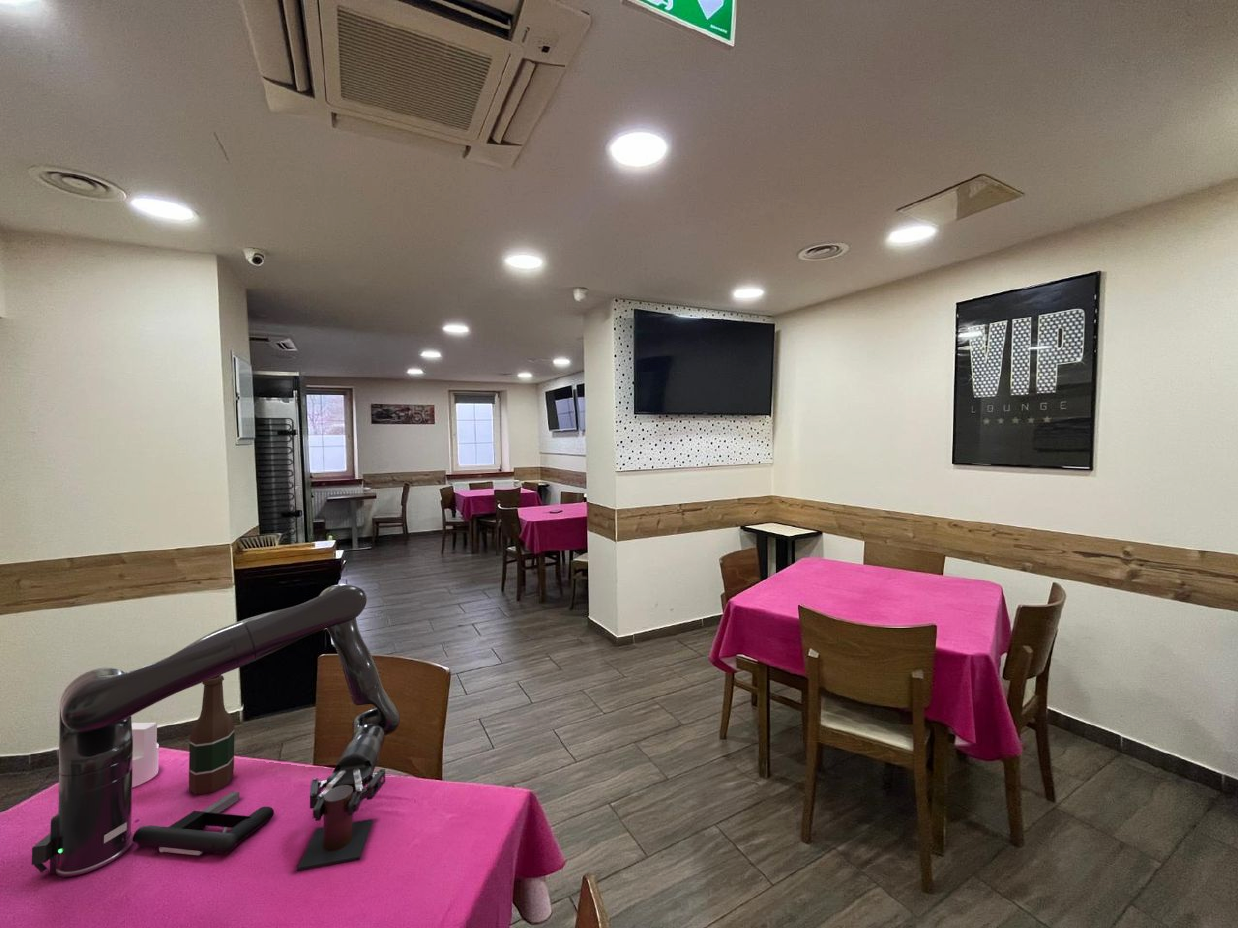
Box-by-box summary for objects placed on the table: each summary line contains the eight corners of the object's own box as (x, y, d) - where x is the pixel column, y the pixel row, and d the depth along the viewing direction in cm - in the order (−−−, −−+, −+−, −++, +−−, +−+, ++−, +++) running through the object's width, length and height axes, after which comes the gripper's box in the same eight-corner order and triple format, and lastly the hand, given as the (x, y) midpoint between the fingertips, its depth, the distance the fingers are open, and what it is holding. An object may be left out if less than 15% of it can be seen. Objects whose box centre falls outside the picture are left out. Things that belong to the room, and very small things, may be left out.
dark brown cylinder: (319, 853, 89) (319, 803, 89) (328, 834, 93) (328, 786, 93) (348, 847, 90) (348, 798, 90) (355, 829, 94) (355, 782, 95)
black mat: (297, 870, 85) (297, 867, 85) (317, 830, 95) (317, 827, 95) (359, 859, 88) (359, 856, 88) (373, 821, 97) (372, 818, 97)
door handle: (208, 785, 105) (124, 835, 89) (292, 792, 103) (221, 845, 87) (207, 801, 105) (123, 854, 89) (291, 809, 102) (220, 865, 86)
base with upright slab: (169, 766, 116) (169, 716, 116) (131, 791, 107) (132, 736, 107) (130, 767, 116) (131, 716, 116) (90, 792, 107) (91, 736, 107)
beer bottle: (233, 769, 115) (234, 667, 115) (234, 785, 109) (235, 677, 109) (189, 782, 110) (191, 675, 110) (187, 800, 104) (189, 687, 104)
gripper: (321, 747, 104) (289, 799, 87) (394, 738, 107) (376, 785, 91) (321, 783, 104) (289, 841, 87) (394, 772, 107) (376, 826, 91)
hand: (334, 812), depth 89 cm, fingers closed on dark brown cylinder, 4 cm apart
